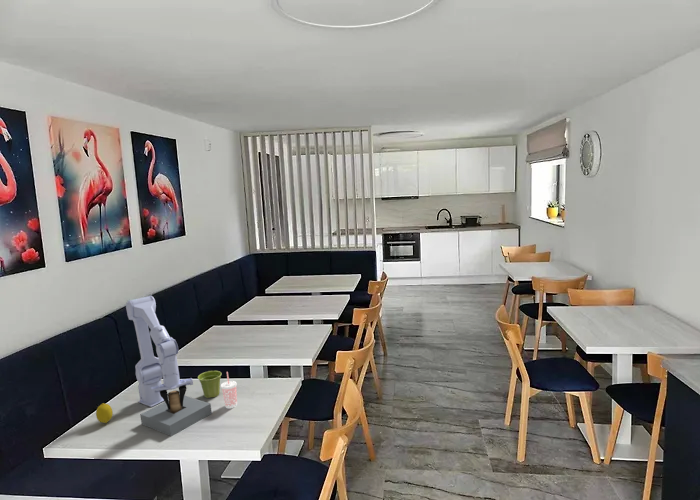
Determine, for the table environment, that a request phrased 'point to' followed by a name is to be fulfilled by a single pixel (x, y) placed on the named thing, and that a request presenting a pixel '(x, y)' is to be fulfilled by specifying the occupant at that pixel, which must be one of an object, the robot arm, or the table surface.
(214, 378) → the plant pot
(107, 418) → the lemon
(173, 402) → the peg
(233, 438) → the table surface
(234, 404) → the beverage cup
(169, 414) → the socket block
